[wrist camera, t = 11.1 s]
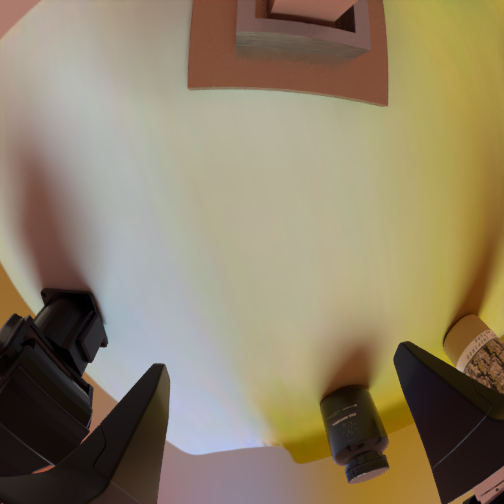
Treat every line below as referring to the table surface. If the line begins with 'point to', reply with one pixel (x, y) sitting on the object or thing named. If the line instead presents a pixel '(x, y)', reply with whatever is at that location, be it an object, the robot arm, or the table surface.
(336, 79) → the square socket base
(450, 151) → the table surface
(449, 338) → the paper tube
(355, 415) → the supplement bottle
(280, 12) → the red post
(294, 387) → the table surface
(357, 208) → the table surface
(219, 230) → the table surface
